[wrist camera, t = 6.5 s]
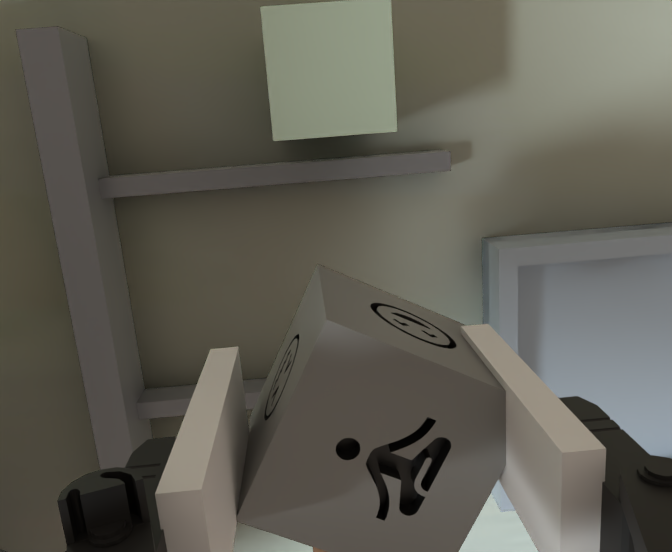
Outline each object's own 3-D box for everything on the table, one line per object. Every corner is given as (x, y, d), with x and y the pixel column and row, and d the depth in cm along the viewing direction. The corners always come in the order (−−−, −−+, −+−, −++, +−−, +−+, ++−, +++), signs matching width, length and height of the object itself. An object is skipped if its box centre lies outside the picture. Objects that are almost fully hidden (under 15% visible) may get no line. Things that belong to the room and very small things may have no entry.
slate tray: (726, 457, 31) (762, 486, 29) (485, 481, 31) (500, 511, 28) (750, 215, 28) (792, 224, 26) (481, 238, 28) (498, 249, 25)
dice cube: (401, 469, 19) (437, 588, 14) (250, 414, 18) (235, 521, 13) (473, 328, 18) (539, 404, 13) (317, 263, 17) (326, 319, 12)
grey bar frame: (452, 479, 31) (467, 516, 28) (134, 510, 30) (116, 551, 27) (438, 12, 25) (456, -2, 22) (49, 40, 25) (15, 29, 22)
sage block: (372, 129, 26) (397, 131, 19) (280, 136, 26) (273, 141, 19) (367, 31, 25) (391, -3, 18) (271, 37, 25) (259, 6, 18)
